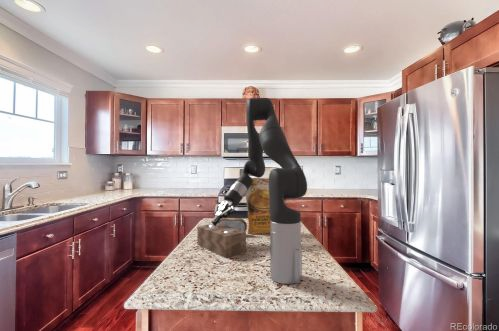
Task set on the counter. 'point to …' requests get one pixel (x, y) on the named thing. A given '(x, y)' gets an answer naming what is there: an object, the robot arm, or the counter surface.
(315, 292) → the counter surface
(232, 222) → the tin
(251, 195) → the pancake mix bag
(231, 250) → the collar block
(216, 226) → the peg
